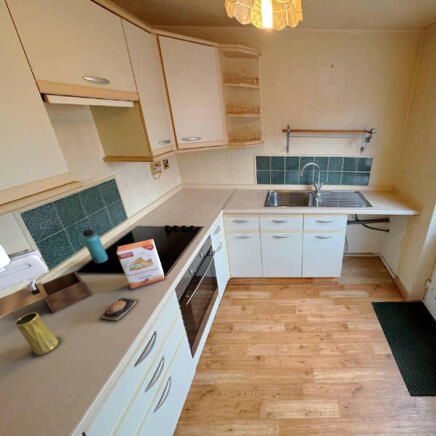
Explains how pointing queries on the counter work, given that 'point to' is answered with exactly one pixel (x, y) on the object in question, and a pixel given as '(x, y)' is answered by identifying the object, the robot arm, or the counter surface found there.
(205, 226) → the counter surface
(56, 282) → the box
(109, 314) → the brown oval piece
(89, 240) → the beverage bottle
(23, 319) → the vase
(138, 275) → the cracker box
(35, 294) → the lid
